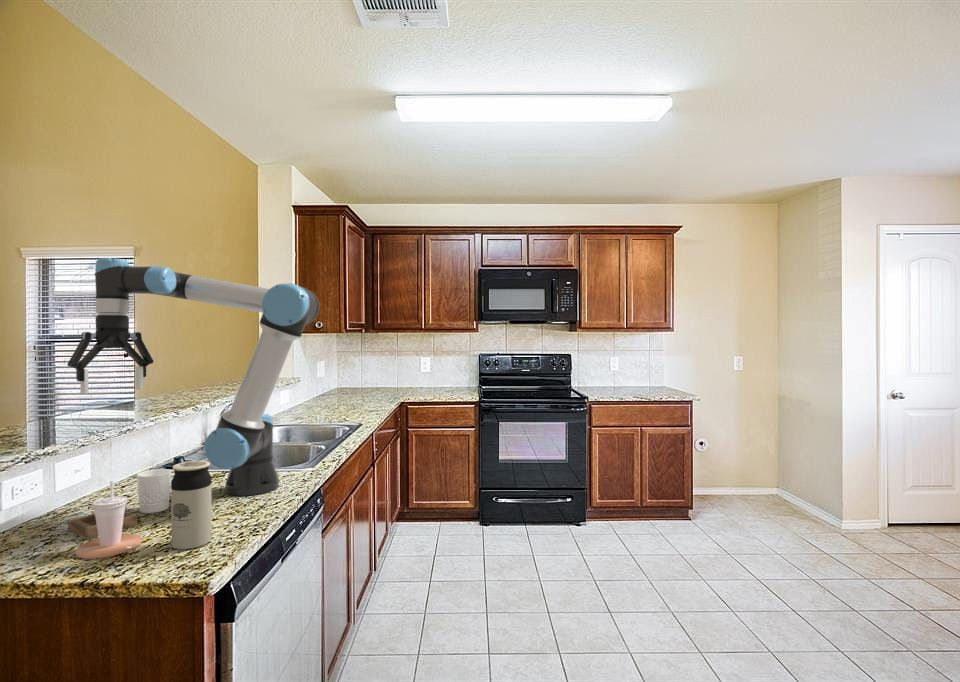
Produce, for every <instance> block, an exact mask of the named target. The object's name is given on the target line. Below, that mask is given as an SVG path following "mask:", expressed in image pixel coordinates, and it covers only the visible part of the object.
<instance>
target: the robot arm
mask: <svg viewBox="0 0 960 682" xmlns="http://www.w3.org/2000/svg"><path fill="white" fill-rule="evenodd" d="M94 277H95V279H94V281H95V313H96V314H98V315H96V316H95V332H90V331H83V332H81V337H80V342H79V343H78V345H77V346H76V348H75V350H74V352H73V354H72V355H71V357H70V359H69V360H68V362H67V364H66V365H67V367H69V368H74V369H75V370H76V372H75V373H76V374H75V376H76V377H75V379H76V381H77V382H80V388H79V389H80V390H79V391H80V393H79V394H84V395H88V394H89V369H88V368H86V367H87V366H88V365H89V364H90V363H91V362H92V361H93V360H94V359H95V357H96V356H98V355H99V353H100V352H101V351H102V350H104V349H122V350H124V351H125V353H126V354H127V355H128V356H129V357H130V358H132V360H133V361H134V362H135V363H136V364H137V366H136V365H135V368H134V369H135V371H134V373H135V389H136V390H144V378H146V377H147V366H149V365H151V364H154V359H153V358H152V356H151V354H150V352H149V350H148V349H147V346H146V344H145V343H144V340H143V338H142V333H141V332H140V331H139V332H138V331H137V332H136V331H134V332H130V331H129V328H130V321H129V320H130V317H129V316H128V314H129V313H130V312H129V311H130V308H129V307H130V302H129V301H130V300H129V295H130V294H145V295H147V294H148V295H157V296H163V297H165V296H167V297H169V298H170V297H171V298H175V299H183V300H189V301H195V302H200V303H205V304H212V305H218V306H223V307H229V308H235V309H240V310H245V311H252V312H257V313H261V314H262V315H261V318H260V320H259V326H260V328H261V333H260V336H259V338H258V340H257V343H256V345H255V347H254V350H253V354H252V356H251V357H250V360H249V363H248V365H247V367H246V371H245V372H244V375H243V378H242V379H241V382H240V385H239V387H238V390H237V392H236V395H235V398H234V400H233V402H232V405H231V407H230V409H229V410H227V411H223V413H221V417H220V419H219V420H218V423H217V425H216V428H215V429H214V430H212V431H211V432H210V433H209V434H208V435H207V437H206V438H205V441H204V444H203V451H204V454H205V456H206V458H207V460H208V462H210V464H211V465H212V466H214V467H216V468H218V469H222V470H229V472H228V475H227V477H226V481H225V483H224V484H225V486H224V493H226V494H228V495H231V496H241V497H242V496H255V495H260V494H265V493H268V492H270V493H271V492H272V491H274V490H276V489H278V488H279V486H280V485H279V476H278V474H277V471H276V467H275V464H274V461H273V458H274V457H273V455H274V452H273V448H274V447H273V445H274V442H273V439H274V438H273V437H274V435H273V432H274V423H273V416H272V415H271V414H270V413H269V414H268V413H266V414H265V411H266V410H267V407H268V404H269V401H270V399H271V396H272V394H273V391H274V389H275V387H276V384H277V381H278V379H279V377H280V374H281V372H282V369H283V366H284V364H285V362H286V359H287V357H288V355H289V352H290V349H291V347H292V344H293V342H294V341H296V340H298V339H300V338H301V337H302V334H303V332H304V331H305V327H306V326H307V325H309V324H311V323H312V322H314V320H316V319H317V317H318V315H319V313H320V306H321V305H320V301H319V299H318V297H317V295H316V294H315V293H314V292H313V291H312V290H310V289H308V288H307V287H303V286H301V285H297V284H294V283H291V282H290V283H289V282H287V283H278V284H276V285H274V286H272V287H270V288H268V287H262V286H256V285H255V286H254V285H249V284H245V283H238V282H234V281H233V282H232V281H225V280H220V279H215V278H209V277H205V276H198V275H192V274H188V273H187V274H186V273H181V272H176V271H173V270H172V268H170V267H168V266H158V265H154V266H130V265H129V261H128V260H126V259H124V258H123V259H121V258H116V257H115V258H110V257H101V258H98V259H97V260H96V262H95V272H94ZM93 339H95V340H96V341H97V342H96V343H95V344H94V345H93V346H92V347H91V349H90V350H89V351H88V352H87V353H86V354H85V352H86V350H87V349H88V346H89V345H90V342H91V341H93ZM130 339H131V341H133V343H134V346H135V347H136V348H137V351H138V352H137V351H136V350H135V349H134V348H133V347H132V345H131V343H130V342H129V340H130ZM84 354H85V355H84ZM83 356H84V357H83ZM82 357H83V358H82Z"/></svg>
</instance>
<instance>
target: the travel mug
mask: <svg viewBox="0 0 960 682" xmlns="http://www.w3.org/2000/svg"><path fill="white" fill-rule="evenodd" d="M210 465H211V462H210V461H209V460H208V461H206V460H191V461H189V460H188V461H184V462H180V463H177V464H176V463H175V464H174V465H173V466H172V470H173V471H174V476H173V477H172V478H171V484H170V497H171V499H170V501H171V502H170V505H171V508H170V509H171V513H170V514H171V515H170V516H171V520H170V521H171V525H170V526H171V528H170V529H171V532H170V533H171V535H170V536H171V542H170V543H171V545H170V546H171V547H172V548H174V549H177V550H182V549H183V550H191V549H192V548H193V549H197V548H199V547H203V546H205V545H207V544H208V543H210V542H211V541H212V475H211V473H210V471H209V467H210Z"/></svg>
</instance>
